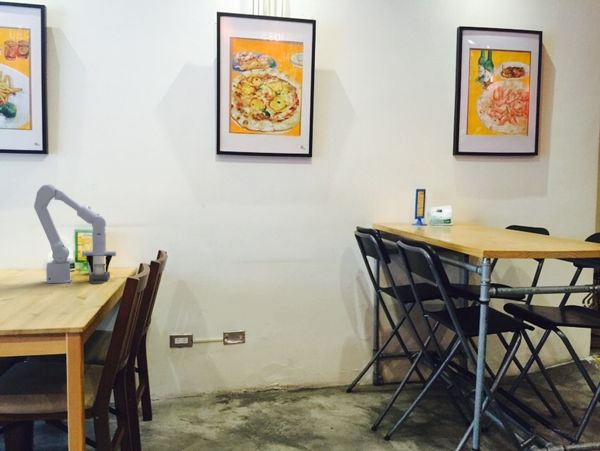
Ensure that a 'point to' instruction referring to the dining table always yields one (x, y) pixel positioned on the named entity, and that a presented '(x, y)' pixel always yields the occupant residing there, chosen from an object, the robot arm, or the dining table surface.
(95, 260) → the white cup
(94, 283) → the mat
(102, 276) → the housing
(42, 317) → the dining table surface
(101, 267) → the end cover
